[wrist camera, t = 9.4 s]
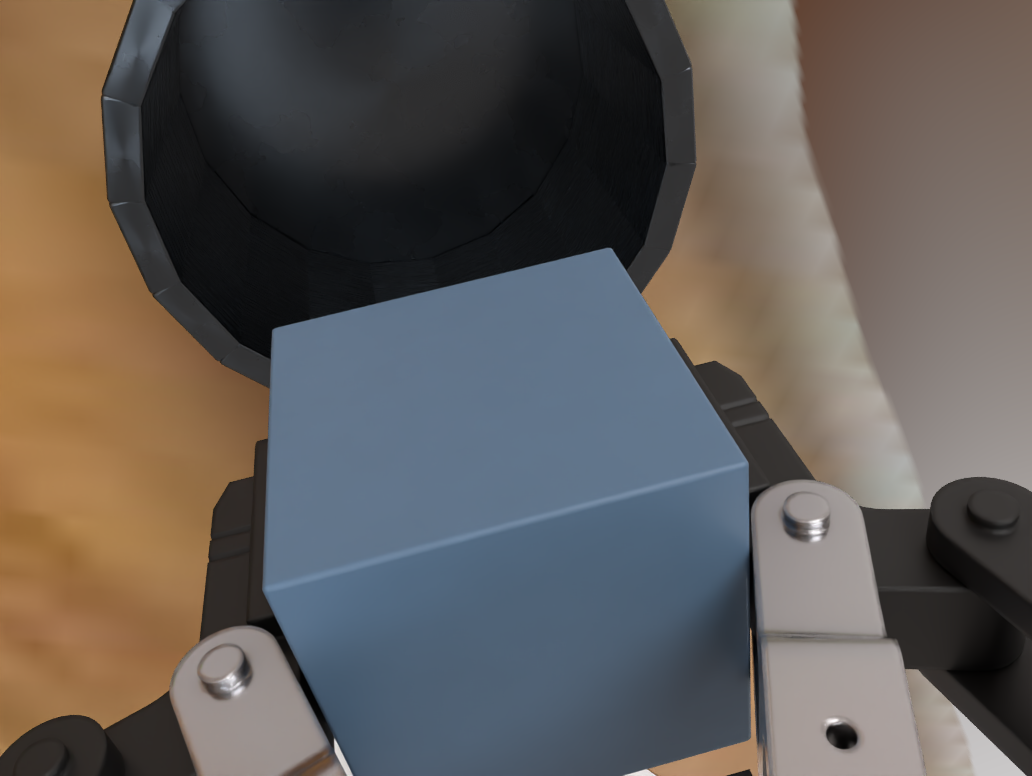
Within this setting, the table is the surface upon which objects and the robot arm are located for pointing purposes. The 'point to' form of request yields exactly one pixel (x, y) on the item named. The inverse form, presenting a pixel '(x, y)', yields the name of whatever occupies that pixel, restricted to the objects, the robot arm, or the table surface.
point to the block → (508, 531)
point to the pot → (386, 150)
